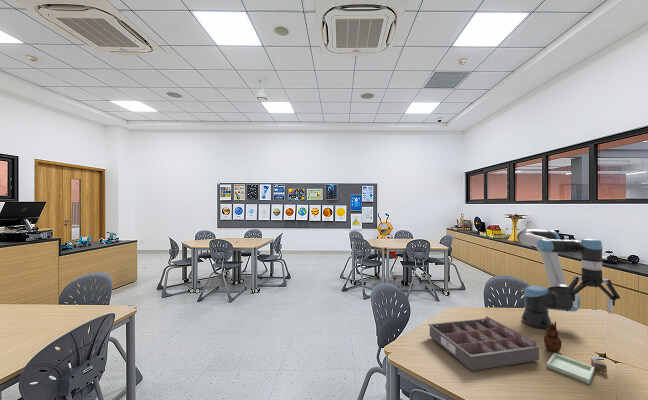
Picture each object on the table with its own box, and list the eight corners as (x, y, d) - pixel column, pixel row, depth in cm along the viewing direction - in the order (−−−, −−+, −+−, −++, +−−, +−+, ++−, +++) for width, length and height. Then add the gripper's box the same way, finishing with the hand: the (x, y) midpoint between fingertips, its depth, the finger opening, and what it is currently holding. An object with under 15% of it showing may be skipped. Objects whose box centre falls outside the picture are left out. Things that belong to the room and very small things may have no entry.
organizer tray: (427, 338, 145) (427, 320, 145) (486, 331, 153) (486, 314, 153) (470, 374, 114) (470, 352, 114) (542, 363, 122) (541, 342, 122)
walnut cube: (594, 371, 116) (594, 362, 116) (591, 366, 120) (591, 358, 120) (606, 374, 114) (606, 365, 114) (603, 369, 117) (603, 361, 118)
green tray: (546, 367, 119) (546, 363, 119) (554, 356, 127) (554, 352, 127) (589, 384, 108) (589, 379, 108) (594, 371, 116) (594, 367, 116)
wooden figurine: (557, 348, 135) (557, 320, 135) (563, 354, 129) (563, 325, 129) (541, 346, 137) (541, 318, 137) (547, 352, 131) (547, 322, 132)
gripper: (564, 267, 135) (564, 308, 134) (629, 273, 125) (630, 316, 124) (558, 264, 141) (558, 302, 141) (619, 269, 132) (620, 310, 131)
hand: (592, 309), depth 133 cm, fingers open, 13 cm apart
